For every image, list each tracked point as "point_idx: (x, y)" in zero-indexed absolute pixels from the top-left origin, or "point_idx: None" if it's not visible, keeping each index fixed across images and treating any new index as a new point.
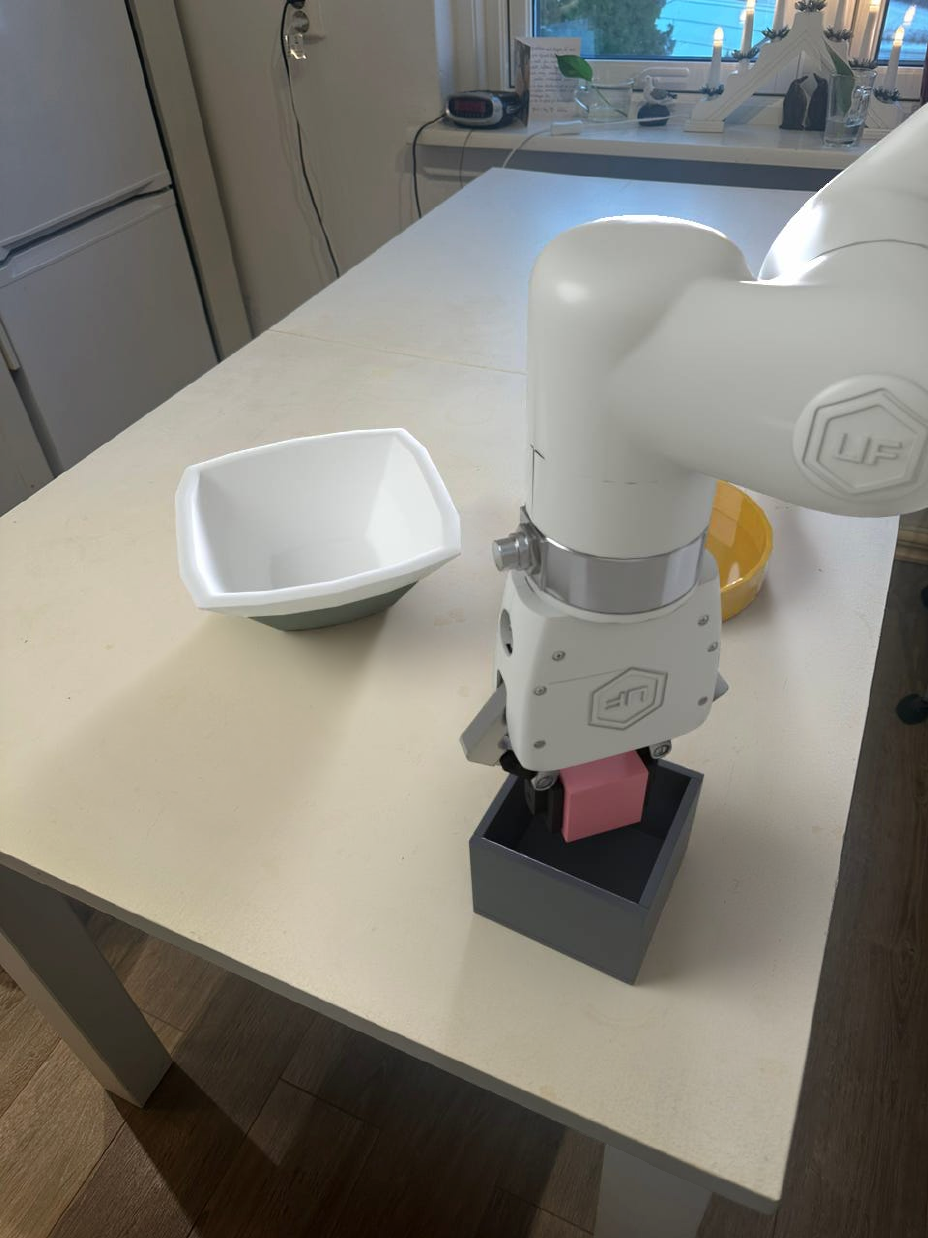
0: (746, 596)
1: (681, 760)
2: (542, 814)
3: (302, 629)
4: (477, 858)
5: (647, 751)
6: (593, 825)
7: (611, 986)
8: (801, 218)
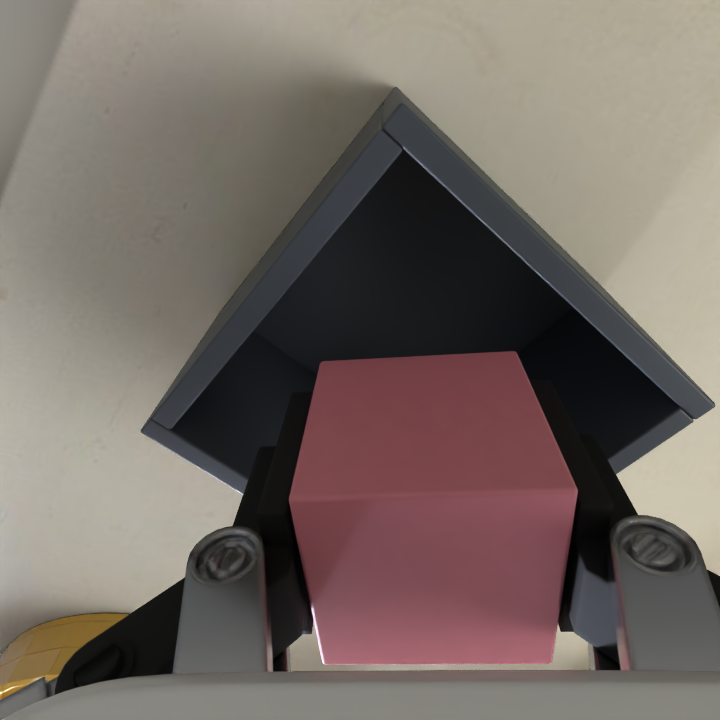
0: (24, 649)
1: None
2: None
3: None
4: (678, 366)
5: (267, 554)
6: (451, 375)
7: (431, 97)
8: None
